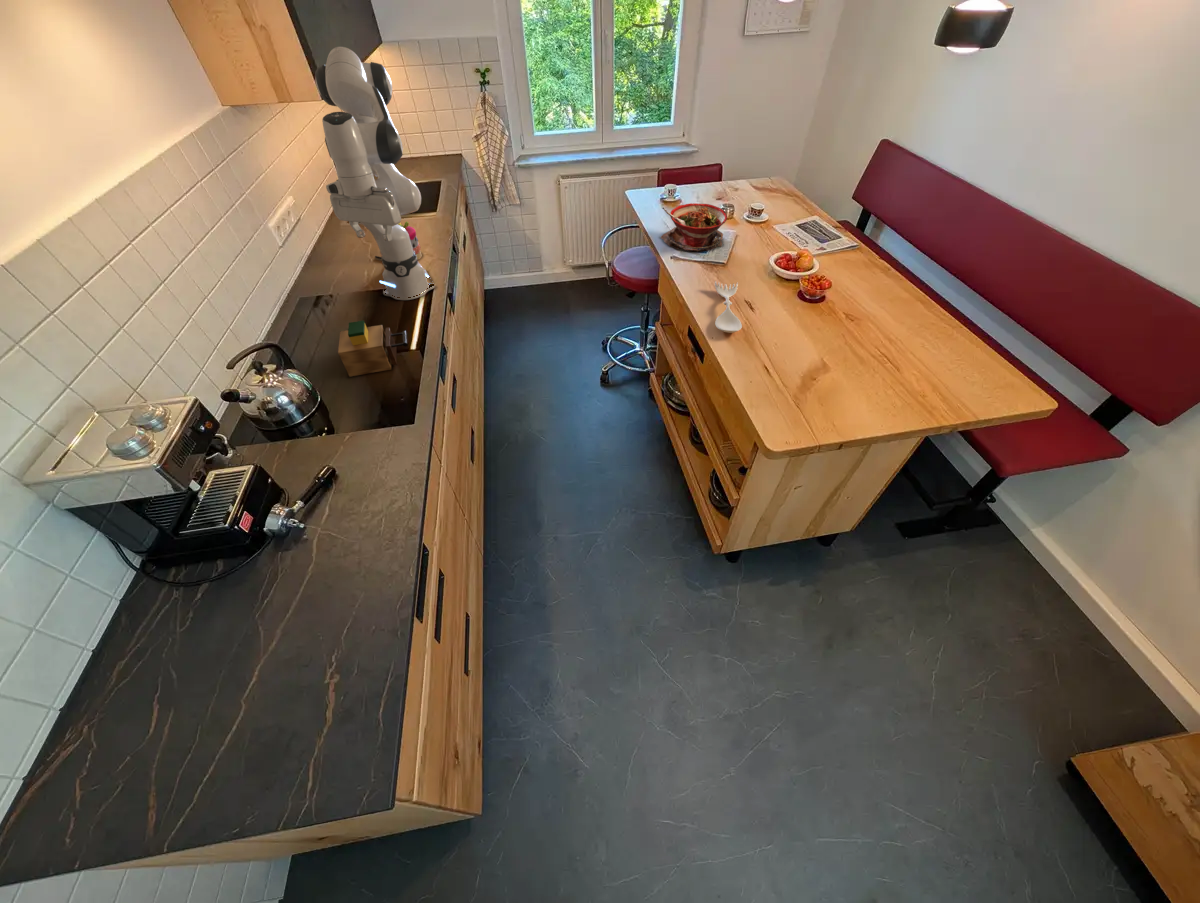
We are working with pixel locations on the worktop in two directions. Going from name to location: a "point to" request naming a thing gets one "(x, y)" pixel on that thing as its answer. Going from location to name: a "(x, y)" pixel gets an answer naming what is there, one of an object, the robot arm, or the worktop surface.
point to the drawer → (393, 344)
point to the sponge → (358, 332)
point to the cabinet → (364, 353)
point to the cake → (413, 239)
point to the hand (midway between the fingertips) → (374, 238)
